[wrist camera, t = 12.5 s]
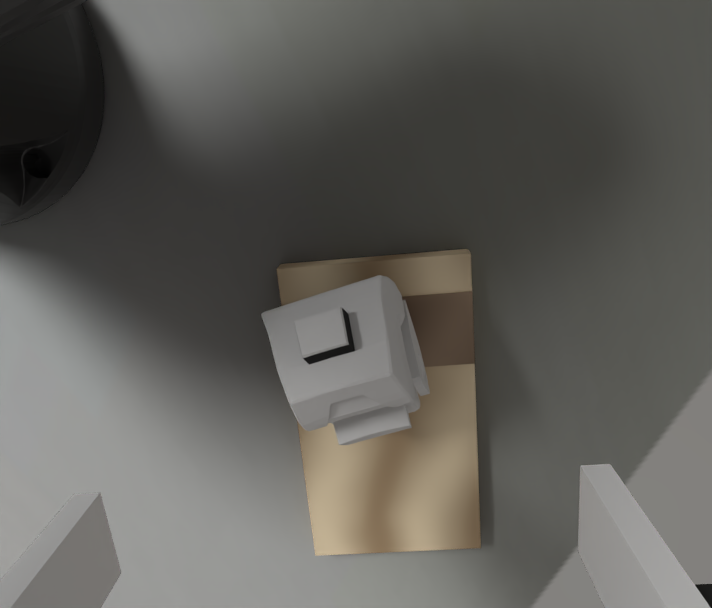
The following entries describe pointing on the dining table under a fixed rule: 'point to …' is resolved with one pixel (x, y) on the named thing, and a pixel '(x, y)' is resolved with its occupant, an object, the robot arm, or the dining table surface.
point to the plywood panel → (429, 423)
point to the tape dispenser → (349, 359)
